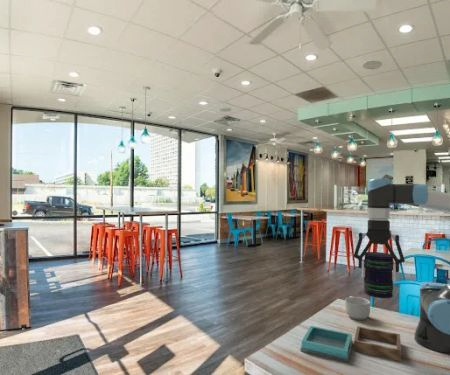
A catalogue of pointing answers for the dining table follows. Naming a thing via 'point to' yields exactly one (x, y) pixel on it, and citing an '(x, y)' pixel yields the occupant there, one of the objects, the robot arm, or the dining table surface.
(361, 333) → the walnut holder
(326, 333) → the teal square tray
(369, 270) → the navy oil drum
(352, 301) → the teacup
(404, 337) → the dining table surface
